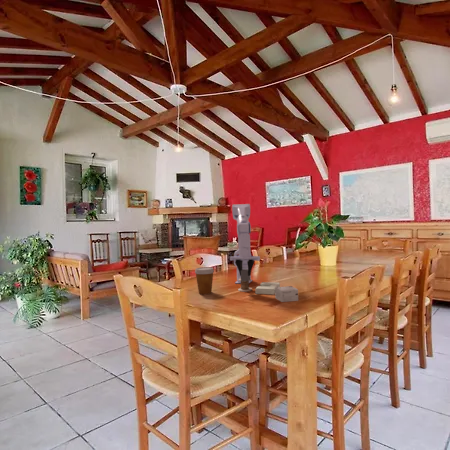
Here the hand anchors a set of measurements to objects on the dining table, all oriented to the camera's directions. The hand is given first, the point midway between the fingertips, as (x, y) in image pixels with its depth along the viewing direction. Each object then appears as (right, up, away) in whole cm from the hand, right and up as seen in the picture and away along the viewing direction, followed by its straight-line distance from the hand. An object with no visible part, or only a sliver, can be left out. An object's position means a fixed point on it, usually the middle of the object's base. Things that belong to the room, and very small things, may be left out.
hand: (245, 275), depth 160 cm
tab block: (0, -2, 0) cm, 2 cm away
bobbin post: (0, -8, +6) cm, 11 cm away
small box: (+17, -9, -15) cm, 24 cm away
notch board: (+11, -8, +4) cm, 14 cm away
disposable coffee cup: (-20, -9, +4) cm, 22 cm away
